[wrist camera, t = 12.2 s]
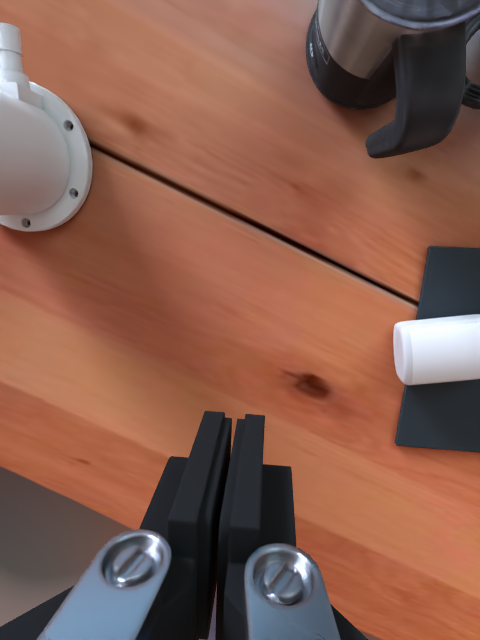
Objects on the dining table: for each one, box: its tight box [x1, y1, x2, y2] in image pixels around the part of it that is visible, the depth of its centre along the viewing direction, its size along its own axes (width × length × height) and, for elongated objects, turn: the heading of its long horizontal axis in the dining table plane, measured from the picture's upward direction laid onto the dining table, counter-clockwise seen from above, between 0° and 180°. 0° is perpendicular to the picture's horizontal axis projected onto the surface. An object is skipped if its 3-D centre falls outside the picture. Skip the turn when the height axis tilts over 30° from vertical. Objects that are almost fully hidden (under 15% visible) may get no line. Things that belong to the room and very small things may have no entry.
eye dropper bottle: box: [393, 314, 480, 385], centre depth 34 cm, size 4×6×12 cm
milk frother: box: [306, 0, 480, 158], centre depth 24 cm, size 14×16×15 cm
